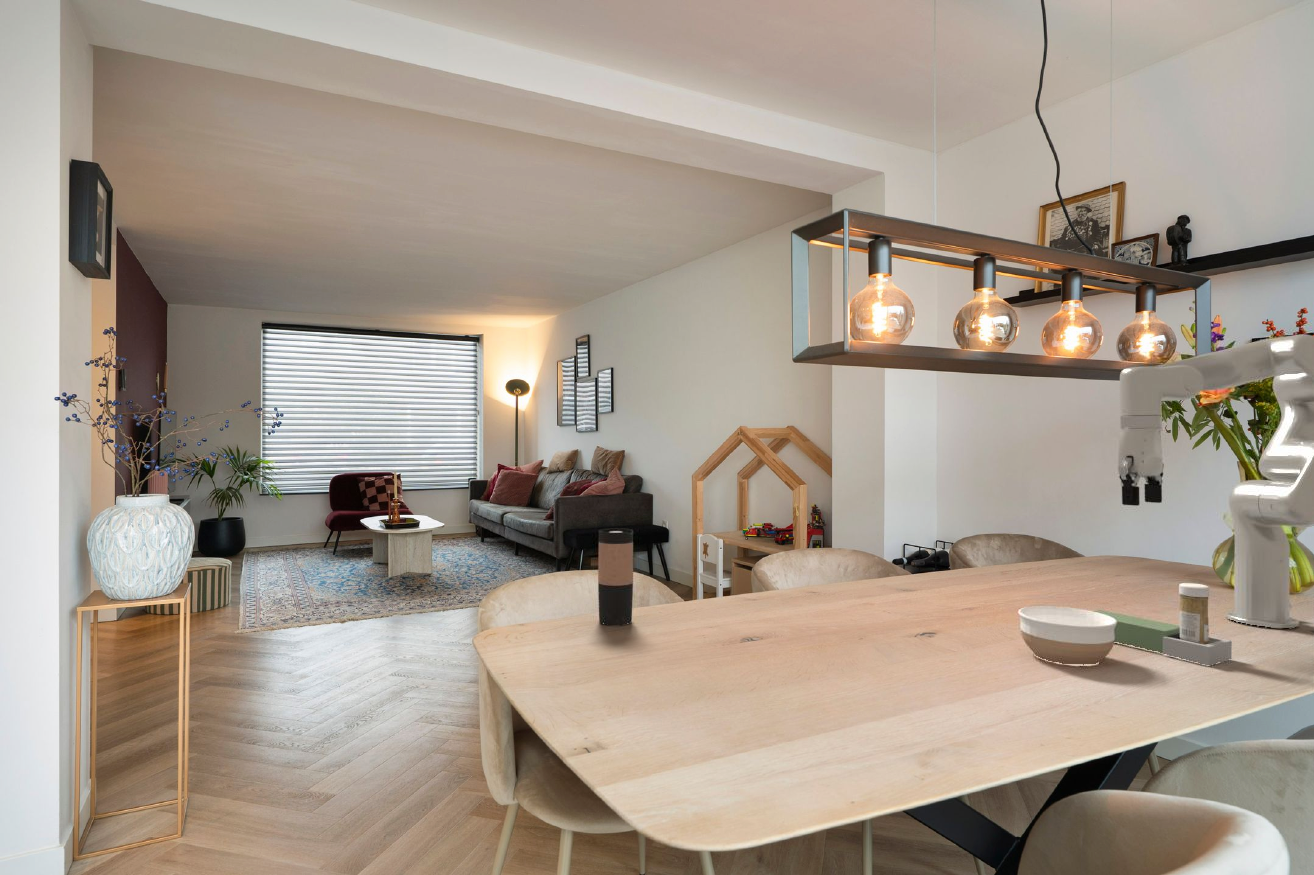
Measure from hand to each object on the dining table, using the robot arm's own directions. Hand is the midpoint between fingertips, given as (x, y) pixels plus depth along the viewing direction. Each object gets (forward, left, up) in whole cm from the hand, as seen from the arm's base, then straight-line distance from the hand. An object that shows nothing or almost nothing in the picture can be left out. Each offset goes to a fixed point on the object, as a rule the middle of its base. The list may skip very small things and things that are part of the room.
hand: (1142, 503), depth 160 cm
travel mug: (+97, -59, -27) cm, 117 cm away
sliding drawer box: (+15, +9, -27) cm, 32 cm away
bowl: (+36, +5, -27) cm, 46 cm away
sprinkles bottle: (+15, +17, -27) cm, 35 cm away
